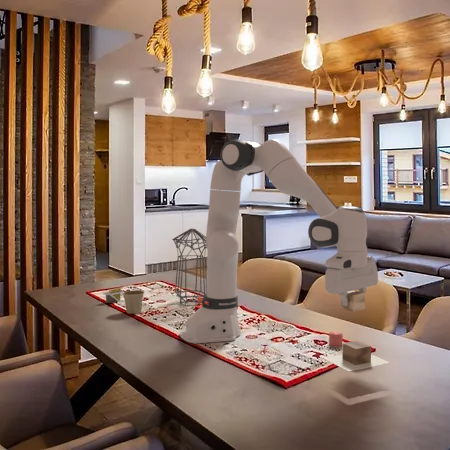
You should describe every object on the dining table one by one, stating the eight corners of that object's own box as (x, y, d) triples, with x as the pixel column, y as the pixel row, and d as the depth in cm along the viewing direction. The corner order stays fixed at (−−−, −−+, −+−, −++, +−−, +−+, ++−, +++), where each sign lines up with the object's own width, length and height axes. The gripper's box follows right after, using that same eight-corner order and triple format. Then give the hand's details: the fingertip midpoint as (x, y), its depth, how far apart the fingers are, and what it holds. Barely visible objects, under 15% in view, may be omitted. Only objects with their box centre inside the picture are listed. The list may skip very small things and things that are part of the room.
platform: (137, 301, 233) (137, 287, 233) (105, 308, 220) (104, 294, 219) (122, 297, 241) (122, 284, 241) (90, 303, 228) (90, 290, 227)
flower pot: (118, 313, 209) (117, 293, 208) (130, 308, 218) (130, 289, 217) (137, 316, 206) (136, 295, 205) (148, 310, 214) (148, 291, 214)
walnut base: (355, 365, 147) (355, 349, 146) (342, 358, 152) (342, 343, 152) (370, 362, 149) (371, 346, 149) (357, 355, 155) (357, 340, 154)
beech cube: (341, 308, 152) (341, 292, 151) (352, 305, 154) (352, 290, 154) (354, 311, 148) (353, 295, 147) (365, 308, 150) (364, 292, 150)
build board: (348, 375, 142) (348, 371, 142) (323, 362, 153) (323, 358, 153) (390, 366, 149) (390, 362, 149) (363, 354, 160) (363, 350, 160)
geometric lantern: (170, 301, 232) (171, 227, 230) (201, 299, 238) (202, 227, 236) (179, 308, 217) (180, 229, 215) (213, 306, 223) (214, 229, 221)
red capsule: (334, 350, 163) (334, 336, 163) (326, 347, 167) (326, 332, 167) (345, 349, 165) (345, 334, 165) (336, 345, 169) (336, 330, 168)
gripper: (366, 254, 158) (367, 296, 159) (321, 262, 147) (322, 307, 148) (382, 256, 153) (383, 300, 154) (337, 264, 141) (337, 311, 143)
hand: (352, 303), depth 151 cm, fingers closed on beech cube, 5 cm apart
